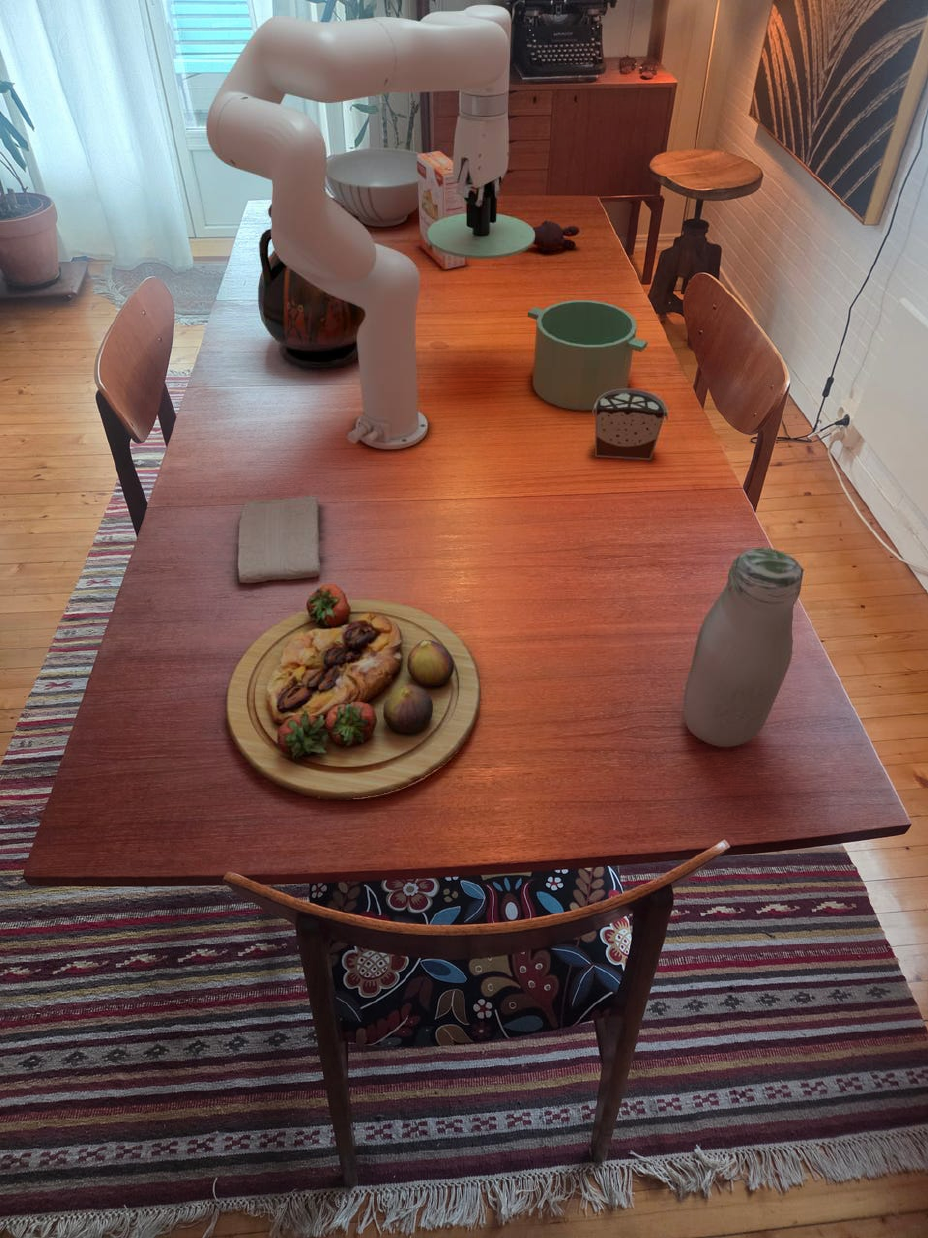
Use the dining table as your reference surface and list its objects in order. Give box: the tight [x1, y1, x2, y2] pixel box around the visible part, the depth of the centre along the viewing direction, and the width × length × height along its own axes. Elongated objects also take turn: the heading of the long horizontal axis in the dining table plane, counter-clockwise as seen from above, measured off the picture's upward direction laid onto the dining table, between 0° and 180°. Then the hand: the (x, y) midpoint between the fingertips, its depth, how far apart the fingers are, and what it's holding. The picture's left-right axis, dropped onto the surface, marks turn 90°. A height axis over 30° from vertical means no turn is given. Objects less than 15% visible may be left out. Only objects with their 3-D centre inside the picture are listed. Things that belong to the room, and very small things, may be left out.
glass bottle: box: [682, 547, 805, 748], centre depth 99 cm, size 10×10×28 cm
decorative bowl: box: [325, 147, 421, 228], centre depth 217 cm, size 27×27×12 cm
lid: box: [427, 193, 535, 260], centre depth 148 cm, size 18×18×7 cm
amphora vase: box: [257, 197, 365, 371], centre depth 164 cm, size 22×22×28 cm
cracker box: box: [417, 150, 467, 271], centre depth 198 cm, size 14×6×21 cm, turn 25°
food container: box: [591, 388, 669, 461], centre depth 147 cm, size 12×6×10 cm, turn 84°
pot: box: [527, 299, 648, 411], centre depth 161 cm, size 18×23×12 cm
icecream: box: [532, 220, 580, 253], centre depth 206 cm, size 7×7×15 cm
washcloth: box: [237, 495, 322, 584], centre depth 132 cm, size 12×18×3 cm, turn 9°
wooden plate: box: [225, 583, 482, 801], centre depth 109 cm, size 32×32×8 cm
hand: (481, 223), depth 149 cm, fingers closed on lid, 3 cm apart
